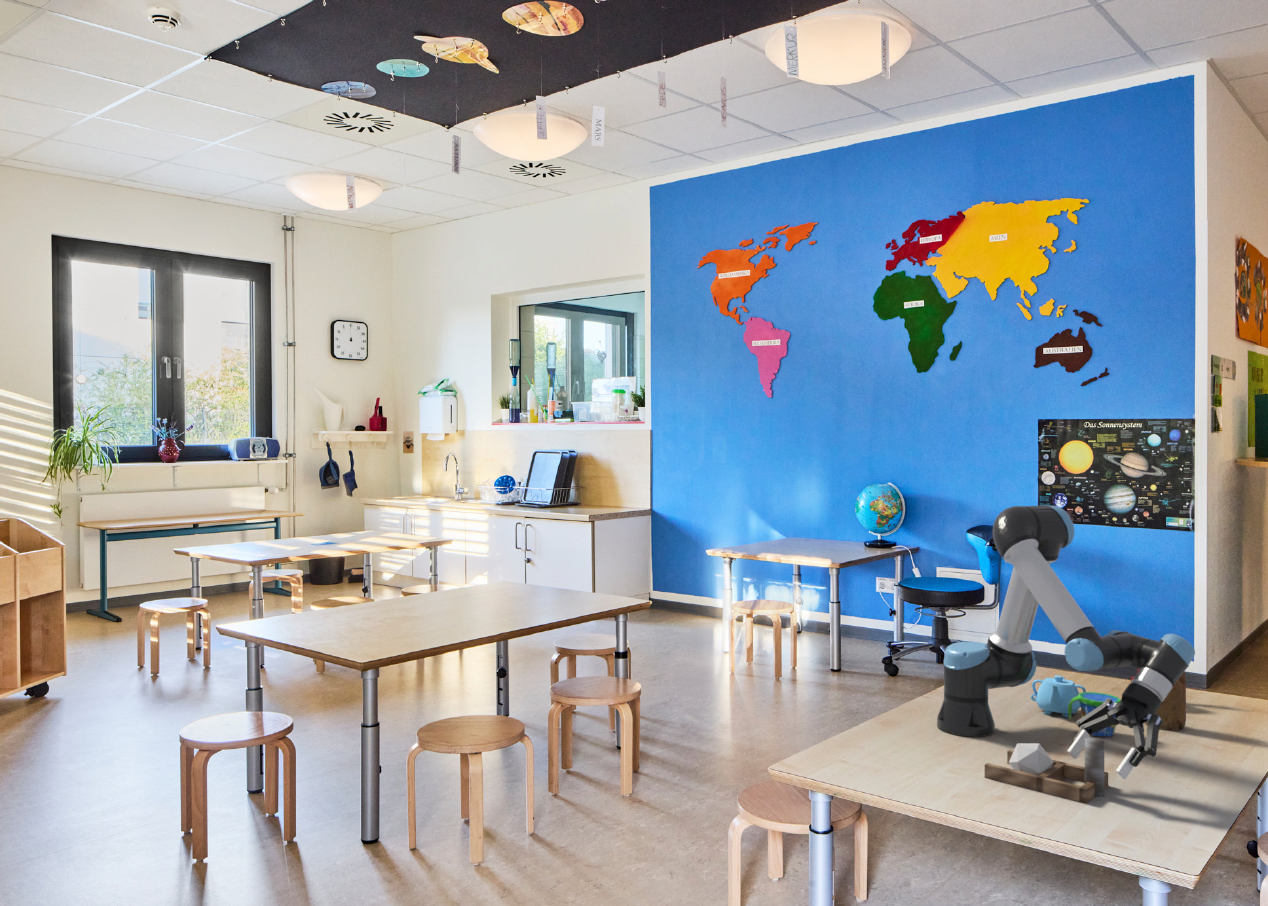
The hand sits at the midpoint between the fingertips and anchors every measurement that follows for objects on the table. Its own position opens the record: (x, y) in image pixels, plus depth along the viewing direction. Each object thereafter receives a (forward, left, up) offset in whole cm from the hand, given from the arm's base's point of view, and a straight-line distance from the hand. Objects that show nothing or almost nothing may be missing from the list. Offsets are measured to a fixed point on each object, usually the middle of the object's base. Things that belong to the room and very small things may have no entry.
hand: (1095, 765), depth 210 cm
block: (-3, +69, -7) cm, 70 cm away
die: (-14, 0, -7) cm, 16 cm away
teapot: (-29, +61, -7) cm, 68 cm away
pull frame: (-10, 0, -7) cm, 12 cm away
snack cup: (-14, +49, -7) cm, 52 cm away
